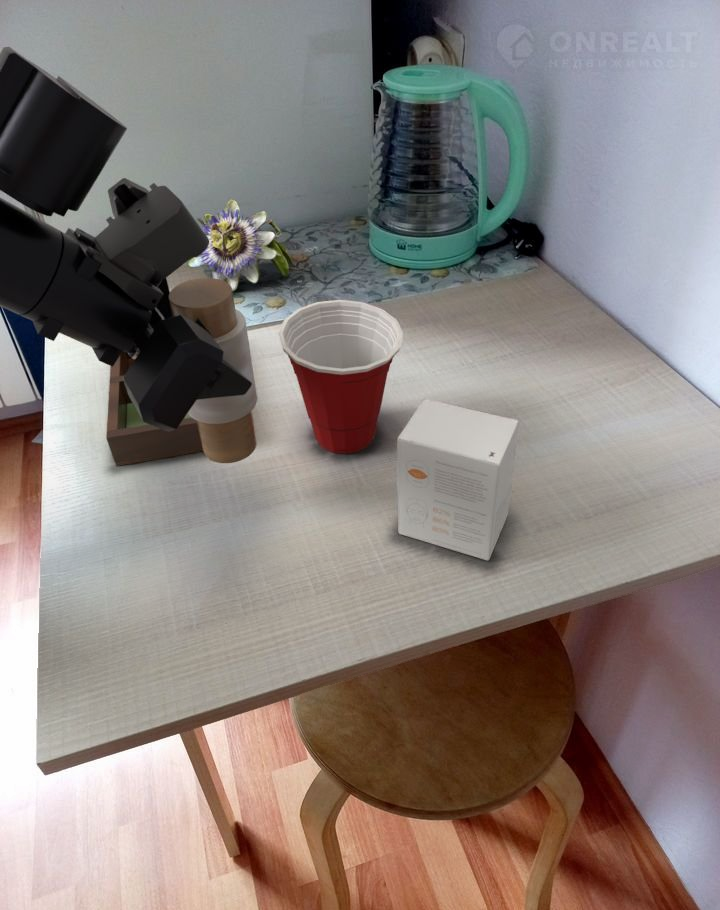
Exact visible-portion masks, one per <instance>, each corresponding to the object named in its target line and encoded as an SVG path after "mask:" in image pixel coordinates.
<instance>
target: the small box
mask: <svg viewBox="0 0 720 910" xmlns="http://www.w3.org/2000/svg"><path fill="white" fill-rule="evenodd" d="M519 429H520V420H518V419H513V418H509V417H505V416H501V415H497V414H494V413H493V414H492V413H487V412H483V411H478V410H474V409H470V408H465V407H463V406H462V407H461V406H459V405H457V406H456V405H454V404H449V403H444V402H440V401H436V400H431V399H427V398H423V399H422V400H421V402H420V404H419V406H417V408H416V409H415V411H414V413H413V415H412V416H411V417H410V419H409V420H408V422H407V423H406V425H405V427H404V428H403V429H402V431H401V432H400V434H399V435H398V436H397V439H396V460H397V462H396V463H397V466H396V467H397V469H396V470H397V531H398V534H399V535H402V536H405V537H408V538H412V539H416V540H418V541H422V542H425V543H428V544H431V545H435V546H439V547H440V548H441V547H442V548H445V549H448V550H451V551H454V552H457V553H461V554H465V555H468V556H471V557H475V558H478V559H481V560H484V561H490V559H491V556H492V554H493V551H494V549H495V547H496V544H497V542H498V540H499V538H500V535H501V532H502V530H503V528H504V525H505V523H506V520H507V518H508V515H509V509H510V500H511V492H512V487H513V486H512V485H513V477H514V469H515V461H516V452H517V446H518V440H519V439H518V437H519Z"/></svg>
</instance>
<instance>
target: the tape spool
mask: <svg viewBox="0 0 720 910" xmlns="http://www.w3.org/2000/svg"><path fill="white" fill-rule="evenodd" d="M169 291H170V293H169V302H170V306H171V311H172V315H173V317H175V316H178V315H182V316H184V317H186V318H188V319H190V320H192V321H194V322H196V320H197V319H198V318H199V319H200V321H201V322H202V323H203V324H204V326H205V327H206V328H207V329H208V331H209V332H210V333H211V334H212V336H213V339H214V340H215V341H216V342H217V344H218V345H219V346H220V347H221V349H222V350H223V351H224V353H223V360H224V361H226V362H227V363H228V364H230V365H231V366H232V367H234V368H235V369H236V370H237V371H239V372H240V373H241V374H242V375H244V376H245V377H246V378H247V379H249V380H250V381H251V383H252V386H251V387H250V389H249V390H248V391H247V393H246V394H245V395H239V396H228V397H218V398H208V399H200V400H196V402H195V403H194V404H193V406H192V407H191V409H190V410H189V412H188V414H189V416H191V417H192V418H193V419H195V420H196V421H197V425H198V430H199V434H200V439H201V443H202V447H203V451H202V452H203V454H204V455H205V457H206V458H207V459H208V460H210V461H211V462H215V463H219V464H232V463H233V464H234V463H237V462H240V461H242V460H243V461H244V460H245V459H247V458H248V457H250V456H251V455H252V454H254V451H255V450H256V449H257V443H258V441H257V436H256V430H255V429H256V428H255V424H254V423H255V422H254V417H253V411H254V409H255V407H256V405H257V402H258V394H257V393H258V392H257V386H256V380H255V374H254V366H253V361H252V354H251V347H250V340H249V335H248V333H249V332H248V326H247V322H246V317H245V316H244V314H243V313H242V312H241V311H240V310H238V309H236V305H235V298H234V292H233V291H232V287H231V286H230V285H229V284H228V283H227V282H225V281H223V280H219V279H214V278H212V277H202V278H194V279H190V280H187V281H183V282H181V283H179V284H178V285H176V286H174V287H173V288H172V289H171V290H169Z"/></svg>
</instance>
